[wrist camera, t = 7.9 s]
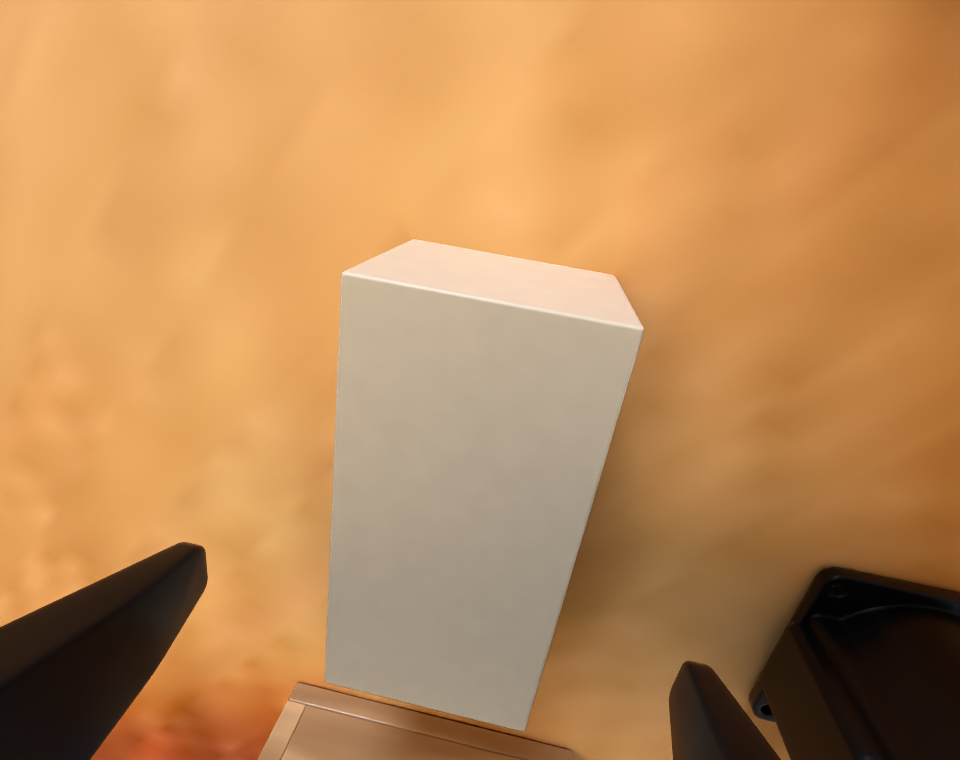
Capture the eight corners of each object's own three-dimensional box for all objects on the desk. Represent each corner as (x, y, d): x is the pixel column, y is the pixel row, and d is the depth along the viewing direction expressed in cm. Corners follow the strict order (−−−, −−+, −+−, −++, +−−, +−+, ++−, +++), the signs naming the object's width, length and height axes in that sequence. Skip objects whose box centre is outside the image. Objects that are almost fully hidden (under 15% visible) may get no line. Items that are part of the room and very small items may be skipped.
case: (411, 238, 13) (339, 271, 9) (616, 275, 13) (645, 328, 8) (381, 556, 18) (323, 683, 13) (533, 590, 17) (524, 733, 13)
